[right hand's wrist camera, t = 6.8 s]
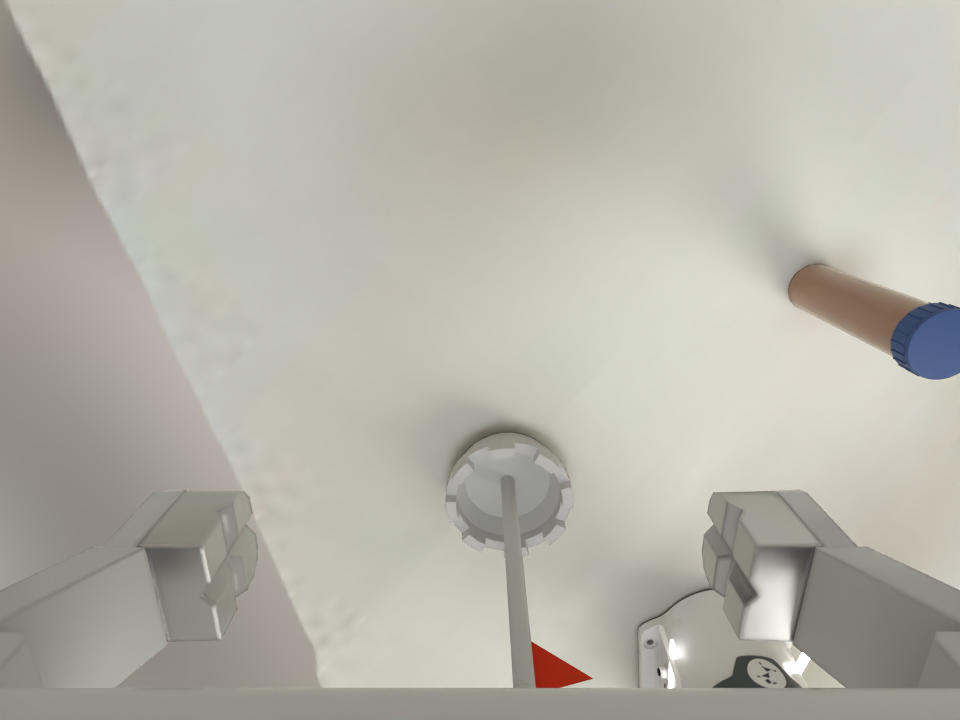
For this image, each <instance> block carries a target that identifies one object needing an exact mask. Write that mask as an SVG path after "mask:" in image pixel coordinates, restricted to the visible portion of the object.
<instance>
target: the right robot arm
mask: <svg viewBox="0 0 960 720" xmlns="http://www.w3.org/2000/svg"><path fill="white" fill-rule="evenodd" d="M252 513H253V512H252V507H251V502H250V497H249V496H248V495H247V494H246V493H245V492H241V491H191V490H190V491H186V490H161V491H157V492H154V493H152V495H151V496H150V497H149V498H148V499H147V500H146V501H145V502H144V503H143V504H142V505H141V506H140V507H139V508H138V509H137V510H136V511H135V513H134V514H133V515H132V516H131V517H130V518H129V519H128V520H127V521H126V522H125V523H124V524H123V525H122V526H121V527H120V528H119V529H118V531H117V532H116V533H115V534H114V535H113V536H112V537H111V538H110V539H109V540H108V541H107V542H106V543H105V544H104V545H103V546H102V547H91V548H89V549H87V550H85V551H83V552H81V553H79V554H76V555H74V556H72V557H70V558H68V559H66V560H64V561H62V562H60V563H57V564H55V565H53V566H51V567H49V568H47V569H45V570H42V571H40V572H38V573H36V574H34V575H32V576H30V577H28V578H25V579H23V580H21V581H19V582H17V583H15V584H13V585H11V586H8V587H6V588H4V589H2V590H0V720H960V590H958V589H956V588H953V587H951V586H949V585H947V584H945V583H943V582H941V581H939V580H936V579H934V578H932V577H930V576H928V575H926V574H924V573H922V572H920V571H917V570H915V569H913V568H911V567H909V566H907V565H905V564H903V563H900V562H898V561H896V560H894V559H892V558H890V557H888V556H886V555H883V554H881V553H879V552H877V551H875V550H873V549H871V548H869V547H858V546H857V545H856V544H855V543H854V542H853V541H852V540H851V539H850V538H849V537H848V536H847V535H846V534H845V533H844V532H843V530H842V529H841V528H840V527H839V526H838V525H837V524H836V523H835V522H834V521H833V520H832V519H831V518H830V517H829V516H828V515H827V514H826V512H825V511H824V510H823V509H822V508H821V507H820V506H819V505H818V504H817V503H816V502H815V501H814V500H813V499H812V498H811V497H810V495H809V494H808V493H806V492H804V491H801V490H782V491H757V492H715V493H713V494H712V496H711V498H710V501H709V506H708V512H707V513H708V515H709V517H710V518H711V520H712V522H713V523H714V525H713V526H712V527H711V528H710V529H709V530H708V531H707V532H706V533H705V534H704V539H703V547H702V556H703V567H704V570H705V574H706V577H707V580H708V582H709V584H710V586H711V588H712V590H714V591H715V592H717V593H718V594H720V595H721V596H723V597H724V604H723V611H724V613H725V615H726V616H727V618H728V620H729V622H730V624H731V626H732V628H733V630H734V632H735V633H736V635H737V637H738V639H739V640H746V641H782V642H793V645H794V646H795V647H796V648H798V649H799V650H800V651H801V652H803V653H804V654H805V655H806V656H808V657H809V658H810V659H811V660H812V661H814V662H815V663H816V664H817V665H819V666H820V667H821V668H822V669H824V670H825V671H826V672H827V673H828V674H830V675H831V676H832V677H833V678H835V679H836V680H837V681H838V682H840V683H841V684H842V685H843V686H844V687H846V688H114V687H116V686H117V685H118V684H119V683H121V682H122V681H123V680H124V679H125V678H127V677H128V676H129V675H130V674H132V673H133V672H134V671H135V670H137V669H138V668H139V667H140V666H141V665H143V664H144V663H145V662H147V661H148V660H149V659H150V658H151V657H153V656H154V655H155V654H156V653H158V652H159V651H160V650H161V649H163V648H164V647H165V646H166V645H167V642H178V641H212V640H221V639H222V637H223V635H224V633H225V632H226V630H227V628H228V626H229V624H230V622H231V620H232V618H233V616H234V614H235V613H236V611H237V604H236V597H237V596H239V595H240V594H242V593H243V592H245V591H246V590H247V589H248V588H249V585H250V584H251V581H252V579H253V577H254V573H255V569H256V565H257V560H258V545H257V538H256V534H255V533H254V532H253V531H252V530H251V529H250V528H249V527H248V526H247V525H246V523H247V522H248V520H249V518H250V517H251V515H252Z"/></svg>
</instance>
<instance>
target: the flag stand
mask: <svg viewBox="0 0 960 720" xmlns="http://www.w3.org/2000/svg"><path fill="white" fill-rule="evenodd" d="M445 502H446V513H447V517H448V520H449V522H453V523H454V524H455V526H456V527H457V528H458V529H459V530H460V532H461V533H462V541H463V542H465V543H466V544H467V545H469V546H470V547H472V548H473V549H475V550H477V551H479V552H482V551H483V549H484V547H488V548H491V549H496V550H504V555H505V559H506V575H507V592H508V608H509V624H510V641H511V657H512V673H513V688H561V687H564V686H568V685H571V684H575V683H579V682H582V681H586V680H590V679H593V678H591V677H590V676H588V675H586V674H585V673H583V672H581V671H580V670H578V669H576V668H575V667H573V666H571V665H570V664H568V663H566V662H565V661H563V660H561V659H560V658H558V657H556V656H555V655H553V654H551V653H550V652H548V651H546V650H545V649H543V648H541V647H540V646H538V645H536V644H535V643H533V642H531V636H530V626H529V617H528V607H527V597H526V587H525V578H524V568H523V558H522V556H525V555H529V554H528V548H529V547H531V546H534V545H537V544H539V543H541V542H543V541H544V540H546V541H547V542H548V543H549V544H551V543H553V542H554V541H555V540H556V539H557V538H558V537H559V536H560V535H561V534H562V532H563V531H564V530H565V529H566V528H565V524H564V521H565V519H566V517H567V515H568V513H569V510H570V508H573V493H572V489H571V485H570V481H569V477H568V474H567V472H566V470H565V468H564V465H563V464H562V463H561V461H560V460H559V459H558V457H557V456H556V455H555V454H553V453H552V452H551V451H550V450H549V449H547V448H546V447H544V446H543V445H542V444H541V443H539V442H538V441H536V440H535V439H533V438H531V437H528V436H525V435H522V434H517V433H498V434H494V435H490V436H488V437H485V438H483V439H481V440H479V441H478V442H476V443H475V444H474V445H472V446H471V447H470V448H469V449H468V450H467V452H466V453H465V454H464V455H463V456H462V457H461V458H460V459H459V460H458V461H457V463H456V464H455V466H454V467H453V469H452V471H451V473H450V476H449V478H448V484H447V491H446V501H445Z"/></svg>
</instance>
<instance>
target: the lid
mask: <svg viewBox="0 0 960 720" xmlns="http://www.w3.org/2000/svg"><path fill="white" fill-rule="evenodd" d="M890 341H891V344H890V345H891V349H890V350H891V352H892V355H893V359H895V360H896V362H897V363H898V365H899V366H901V367H903V368H905V369H906V370H908V371H910V372H911V373H913V374H915V375H917V376H921V377H924V378H927V379H934V380H936V379H945V378H949V377H952V376H954V375H956V374H958V373H960V308H959V307H956V306H953V305H950V304H949V305H947V304H944V303H941V302H939V303H928V304H926V305H922V306H918V307H917V308H915V309H914V310H912V311H910V312H908V314H906V315H905V316H904V317H903V318H902V319H901V320H900V321H899V323H898V324H897V326H896V327H895V329H894V331H893V334H892V337H891V340H890Z"/></svg>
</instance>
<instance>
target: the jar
mask: <svg viewBox="0 0 960 720" xmlns="http://www.w3.org/2000/svg"><path fill="white" fill-rule="evenodd" d="M789 297H790V300H791V302H792V303H793V304H794V305H795V306H796V307H798V308H800V309H801V310H803V311H805V312H807V313H809V314H811V315H813V316H815V317H817V318H819V319H821V320H823V321H825V322H826V323H828V324H830V325H832V326H834V327H836V328H838V329H840V330H842V331H844V332H846V333H848V334H850V335H851V336H853V337H855V338H857V339H859V340H861V341H863V342H865V343H867V344H869V345H871V346H873V347H875V348H876V349H878V350H880V351H882V352H884V353H886V354H888V355H890V356H892V357H893V355H892V352H891V350H890V349H891V345H890V344H891V341H890V340H891V337H892V334H893V331H894V329H895V327H896V326H897V324H898V323H899V321H900V320H901V319H902V318H903V317H904V316H905V315H906V314H908V312H910V311H912V310H914V309H915V308H917V307H918V306H922V305H926V304H928V303H929V302H926V301H923V300H920V299H917V298H915V297H912V296H909V295H906V294H903V293H901V292H898V291H895V290H892V289H889V288H887V287H884V286H881V285H878V284H875V283H873V282H870V281H867V280H864V279H861V278H859V277H856V276H853V275H850V274H847V273H845V272H842V271H839V270H836V269H833V268H831V267H828V266H825V265H821V264H813V265H809V266H806V267H804V268H802V269H801V270H800V271H798V272H797V273H796V274H795V276H794V277H793V279H792V280H791V283H790V286H789Z"/></svg>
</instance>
